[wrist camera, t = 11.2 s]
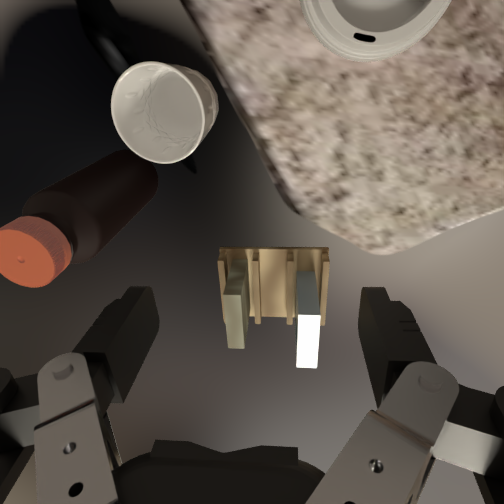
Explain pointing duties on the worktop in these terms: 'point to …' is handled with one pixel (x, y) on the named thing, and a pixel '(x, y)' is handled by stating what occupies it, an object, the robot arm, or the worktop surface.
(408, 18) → the coffee cup
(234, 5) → the worktop surface
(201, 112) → the white cup
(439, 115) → the worktop surface
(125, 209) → the bottle
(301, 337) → the pale blue-grey block
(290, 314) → the dish rack
